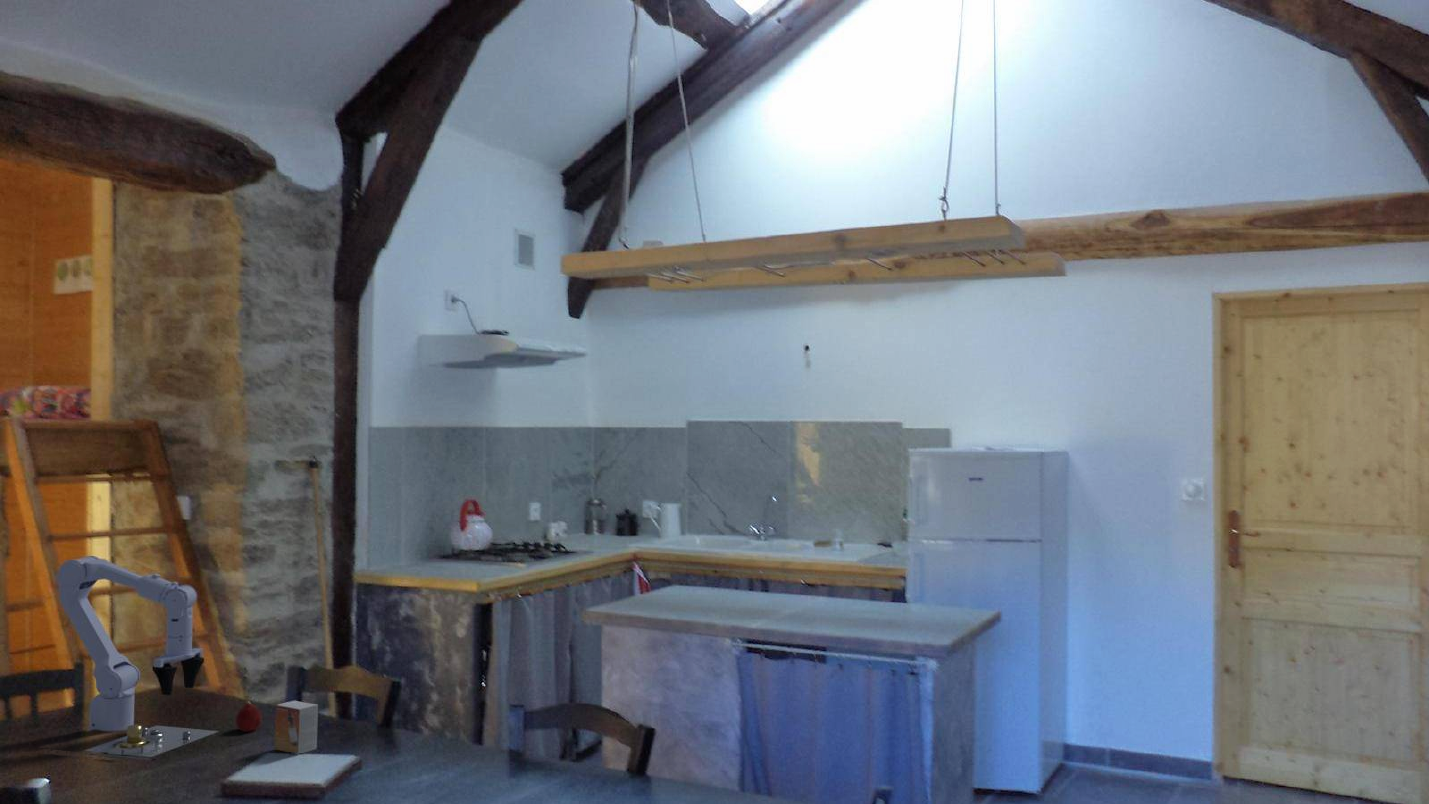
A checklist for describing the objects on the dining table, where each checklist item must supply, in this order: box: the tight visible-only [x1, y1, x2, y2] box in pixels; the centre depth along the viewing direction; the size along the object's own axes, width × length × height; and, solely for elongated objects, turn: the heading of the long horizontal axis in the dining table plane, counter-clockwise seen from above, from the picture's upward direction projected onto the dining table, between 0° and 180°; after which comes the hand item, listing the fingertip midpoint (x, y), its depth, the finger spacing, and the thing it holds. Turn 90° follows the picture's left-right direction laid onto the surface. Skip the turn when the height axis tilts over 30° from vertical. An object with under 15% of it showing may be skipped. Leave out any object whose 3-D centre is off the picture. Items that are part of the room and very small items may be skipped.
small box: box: [274, 699, 319, 754], centre depth 254 cm, size 8×6×10 cm
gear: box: [119, 724, 149, 748], centre depth 250 cm, size 6×6×5 cm
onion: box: [235, 700, 262, 733], centre depth 266 cm, size 6×6×8 cm
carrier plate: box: [84, 725, 219, 762], centre depth 256 cm, size 18×23×3 cm
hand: (178, 691), depth 268 cm, fingers open, 7 cm apart
